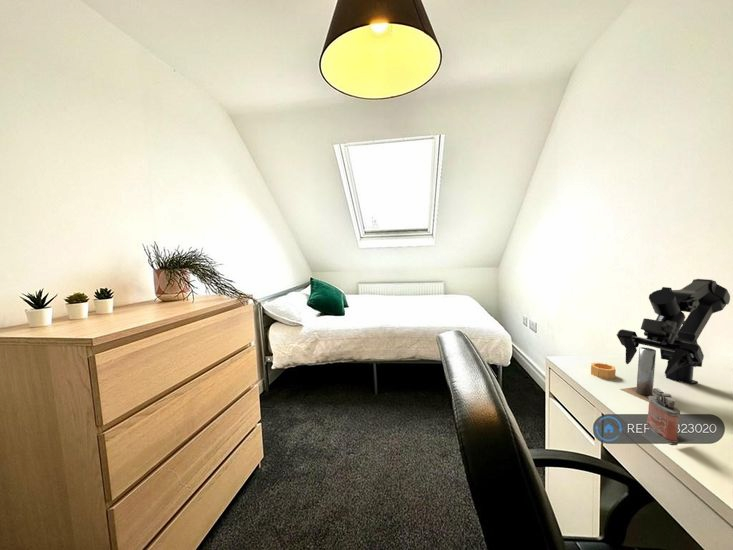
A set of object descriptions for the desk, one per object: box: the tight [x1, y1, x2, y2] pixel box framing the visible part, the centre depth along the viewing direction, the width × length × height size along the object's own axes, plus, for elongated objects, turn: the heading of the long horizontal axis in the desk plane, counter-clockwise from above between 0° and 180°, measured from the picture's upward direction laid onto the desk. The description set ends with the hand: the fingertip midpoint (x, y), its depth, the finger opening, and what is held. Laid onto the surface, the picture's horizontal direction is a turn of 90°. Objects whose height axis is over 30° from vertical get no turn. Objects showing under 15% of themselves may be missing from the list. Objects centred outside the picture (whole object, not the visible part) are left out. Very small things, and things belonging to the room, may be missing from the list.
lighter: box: [646, 387, 682, 446], centre depth 76 cm, size 8×3×10 cm, turn 168°
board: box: [619, 386, 656, 403], centre depth 95 cm, size 8×8×1 cm
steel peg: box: [636, 346, 657, 396], centre depth 95 cm, size 4×4×13 cm
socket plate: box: [590, 362, 617, 380], centre depth 109 cm, size 9×9×4 cm
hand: (645, 368), depth 94 cm, fingers open, 9 cm apart
